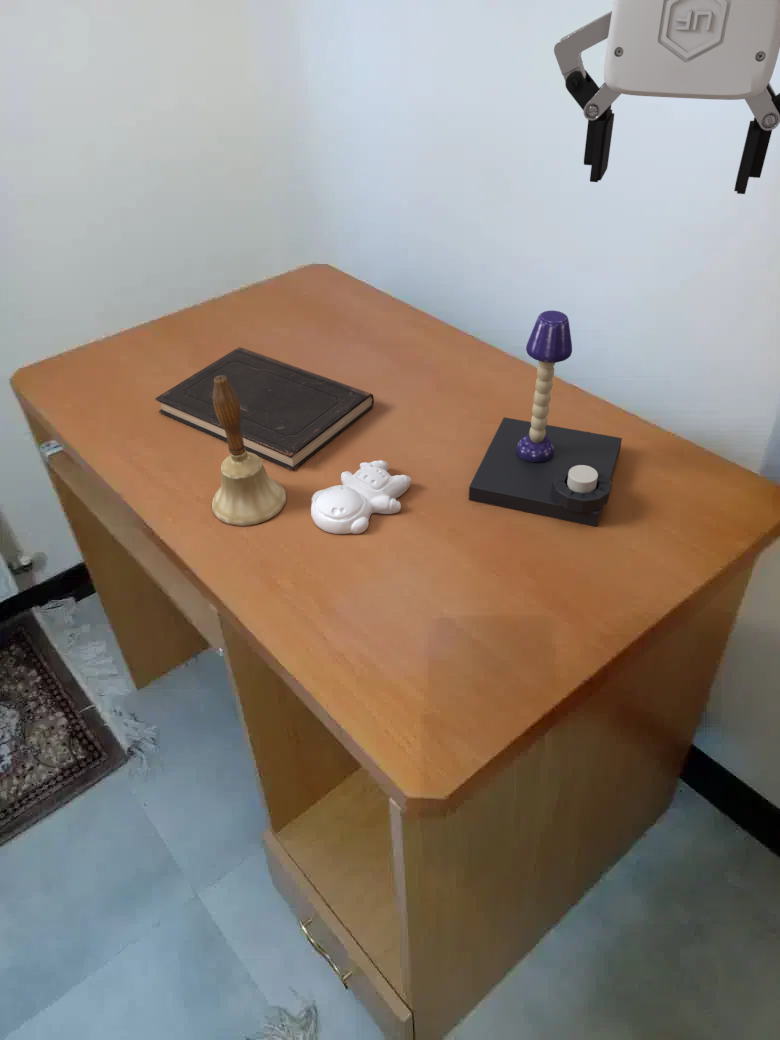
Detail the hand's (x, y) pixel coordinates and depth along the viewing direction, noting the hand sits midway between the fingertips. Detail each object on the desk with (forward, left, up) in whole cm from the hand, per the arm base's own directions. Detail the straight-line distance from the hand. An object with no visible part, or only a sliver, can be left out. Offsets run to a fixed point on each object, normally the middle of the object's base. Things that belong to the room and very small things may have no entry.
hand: (667, 181), depth 55 cm
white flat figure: (+26, 0, -36) cm, 45 cm away
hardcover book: (+45, -13, -36) cm, 59 cm away
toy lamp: (+9, -12, -35) cm, 38 cm away
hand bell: (+38, +4, -36) cm, 53 cm away
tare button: (+4, -6, -33) cm, 34 cm away
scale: (+8, -11, -36) cm, 39 cm away
